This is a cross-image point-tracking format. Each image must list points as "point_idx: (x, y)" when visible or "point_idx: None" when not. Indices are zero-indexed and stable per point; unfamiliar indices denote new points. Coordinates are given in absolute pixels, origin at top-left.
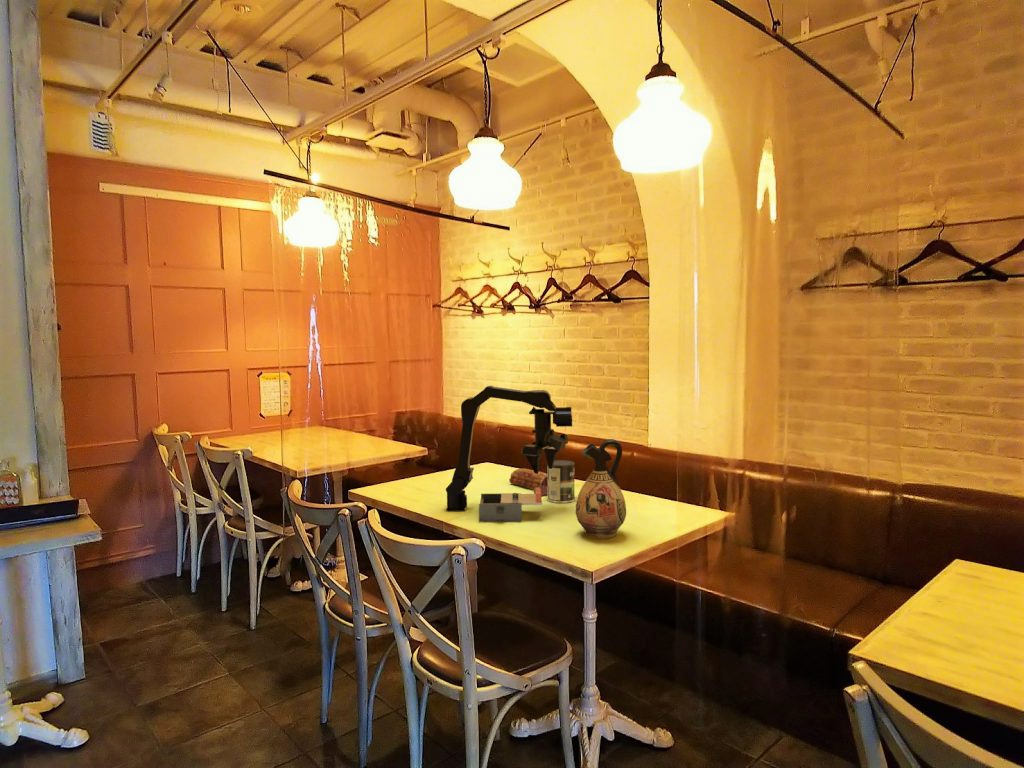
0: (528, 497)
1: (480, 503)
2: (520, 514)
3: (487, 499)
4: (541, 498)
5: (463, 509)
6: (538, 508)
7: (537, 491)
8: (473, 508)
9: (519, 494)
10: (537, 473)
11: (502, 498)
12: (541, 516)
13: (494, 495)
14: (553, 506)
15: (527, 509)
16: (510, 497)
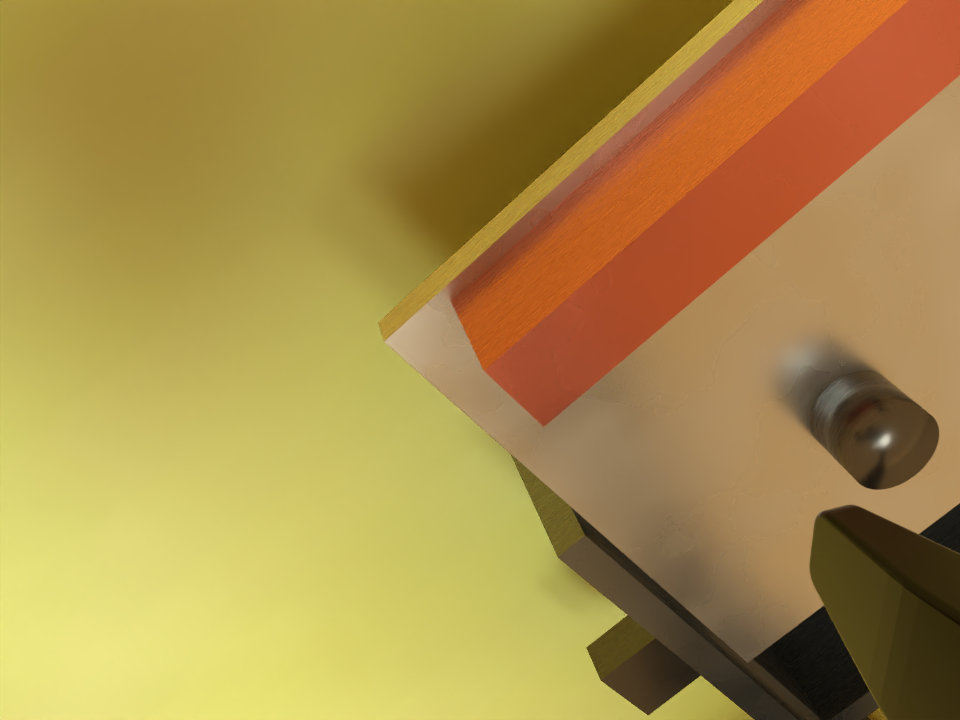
0: (716, 313)
1: None
2: None
3: (792, 684)
4: (656, 100)
5: None
6: (273, 333)
7: (805, 173)
8: (720, 712)
9: (640, 519)
10: (853, 507)
11: (937, 504)
12: (560, 30)
13: (771, 689)
14: (12, 258)
15: (413, 391)
16: (846, 479)
